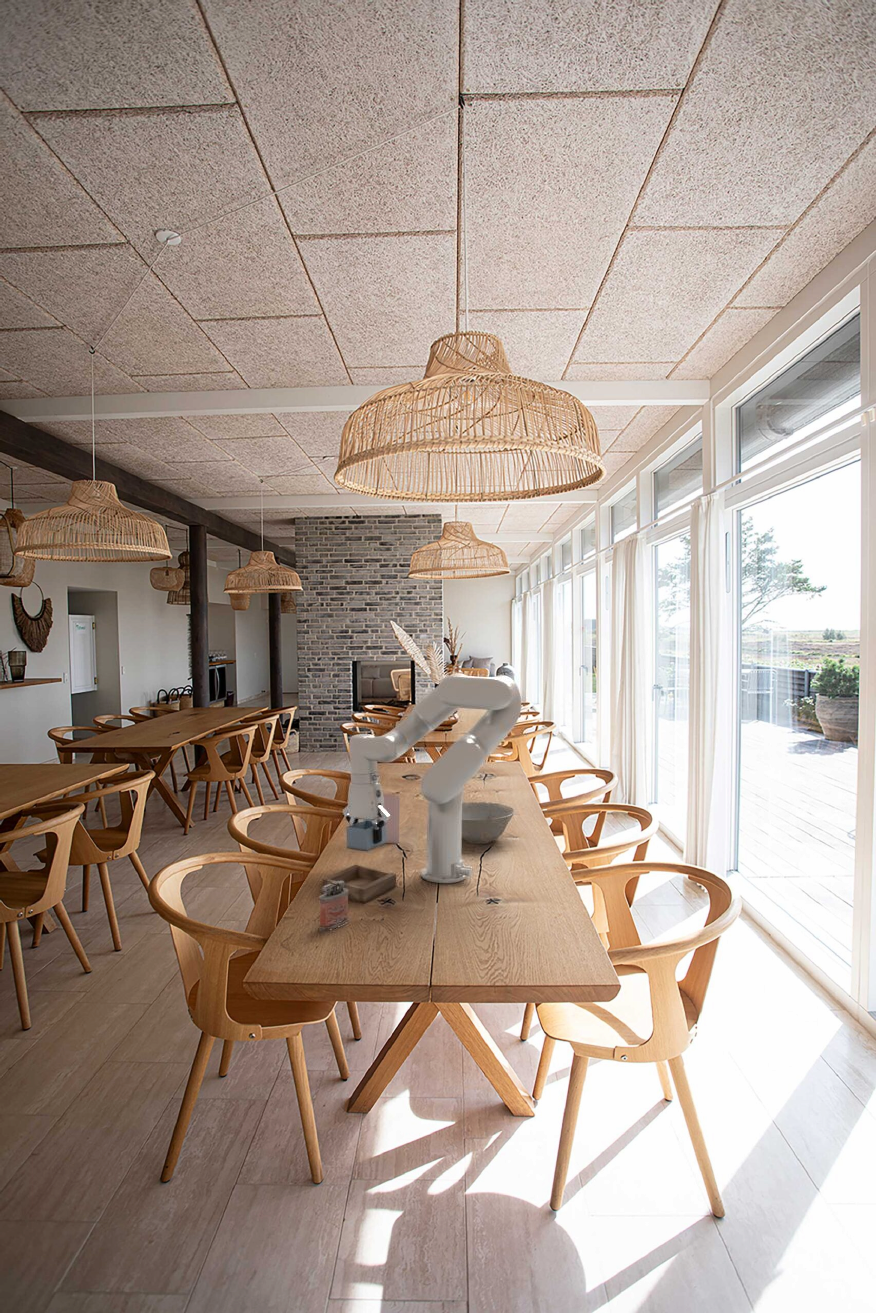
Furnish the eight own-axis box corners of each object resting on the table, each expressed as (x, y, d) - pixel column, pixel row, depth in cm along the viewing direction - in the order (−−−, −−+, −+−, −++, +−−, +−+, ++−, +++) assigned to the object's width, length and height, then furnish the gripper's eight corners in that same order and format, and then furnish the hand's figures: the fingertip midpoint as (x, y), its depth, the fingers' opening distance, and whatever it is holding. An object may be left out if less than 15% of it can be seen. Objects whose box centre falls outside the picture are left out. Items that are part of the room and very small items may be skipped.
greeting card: (400, 841, 229) (401, 795, 229) (386, 847, 223) (386, 800, 223) (373, 835, 236) (373, 790, 235) (358, 841, 230) (358, 795, 229)
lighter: (341, 918, 169) (341, 876, 168) (351, 921, 167) (351, 879, 166) (315, 928, 162) (315, 885, 162) (325, 933, 160) (325, 889, 160)
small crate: (386, 842, 204) (385, 822, 204) (367, 851, 197) (366, 829, 197) (366, 839, 208) (366, 819, 208) (347, 848, 200) (346, 827, 200)
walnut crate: (396, 886, 189) (396, 873, 189) (364, 903, 178) (364, 889, 178) (355, 877, 196) (355, 864, 196) (322, 892, 185) (322, 879, 185)
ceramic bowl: (435, 846, 225) (435, 815, 224) (457, 827, 246) (457, 799, 246) (504, 854, 218) (504, 822, 217) (520, 834, 239) (520, 804, 239)
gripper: (397, 778, 200) (399, 841, 201) (348, 773, 210) (351, 834, 210) (381, 783, 194) (383, 848, 195) (331, 778, 203) (334, 840, 204)
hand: (366, 840), depth 202 cm, fingers closed on small crate, 7 cm apart
